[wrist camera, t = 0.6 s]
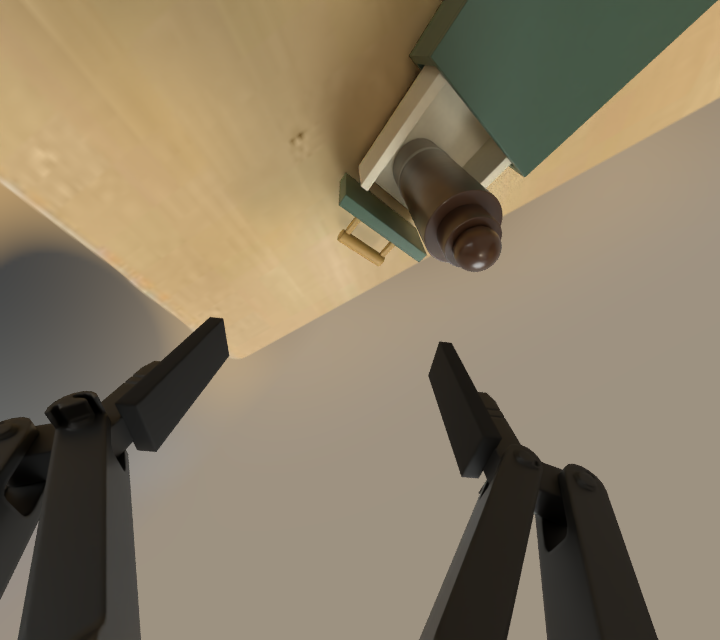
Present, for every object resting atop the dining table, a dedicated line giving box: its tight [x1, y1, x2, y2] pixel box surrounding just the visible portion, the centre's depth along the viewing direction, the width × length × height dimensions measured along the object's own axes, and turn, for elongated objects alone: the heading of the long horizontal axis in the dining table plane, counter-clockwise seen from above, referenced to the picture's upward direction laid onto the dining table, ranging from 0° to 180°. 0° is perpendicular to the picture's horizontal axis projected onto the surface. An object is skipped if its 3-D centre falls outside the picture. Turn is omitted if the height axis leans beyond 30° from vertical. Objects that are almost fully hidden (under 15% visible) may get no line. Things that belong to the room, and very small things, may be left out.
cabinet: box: [409, 0, 718, 177], centre depth 18 cm, size 15×12×8 cm
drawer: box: [337, 65, 511, 266], centre depth 26 cm, size 18×11×6 cm, turn 143°
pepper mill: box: [393, 138, 502, 272], centre depth 20 cm, size 5×5×18 cm
